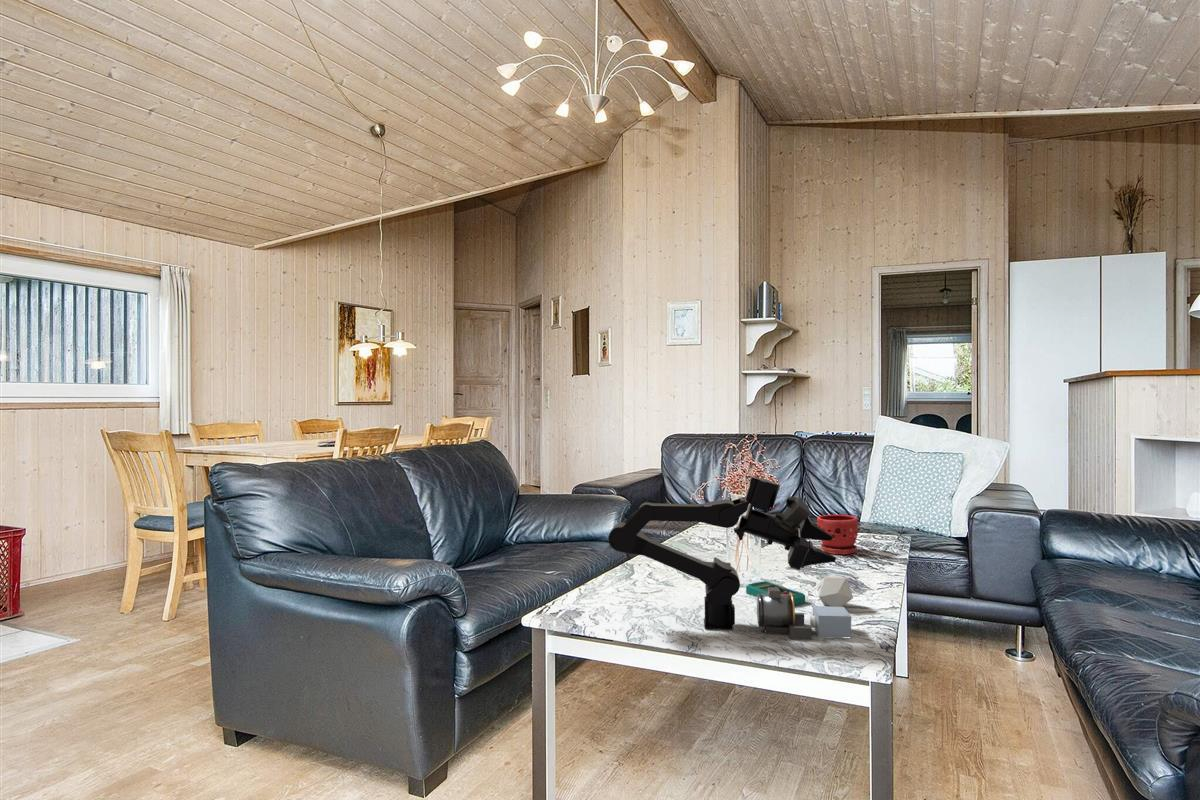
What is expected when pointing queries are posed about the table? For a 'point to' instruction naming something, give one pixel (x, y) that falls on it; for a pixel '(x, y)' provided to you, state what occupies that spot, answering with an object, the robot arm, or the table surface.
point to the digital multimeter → (763, 587)
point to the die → (834, 591)
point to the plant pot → (839, 533)
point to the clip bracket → (800, 629)
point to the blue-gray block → (831, 621)
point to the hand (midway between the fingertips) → (833, 548)
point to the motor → (775, 611)
